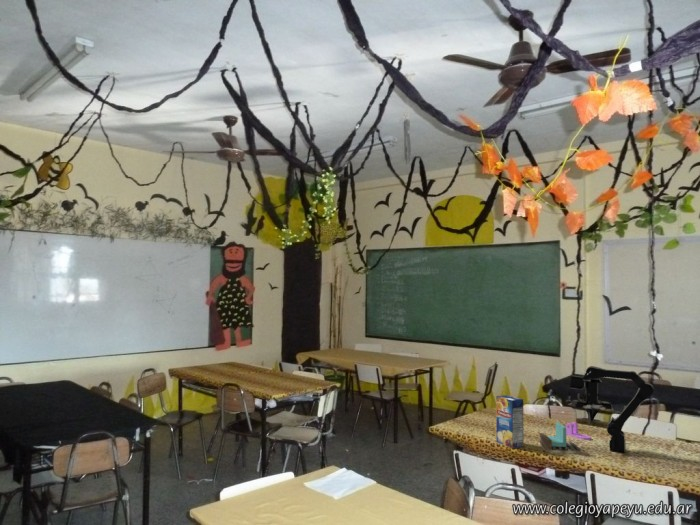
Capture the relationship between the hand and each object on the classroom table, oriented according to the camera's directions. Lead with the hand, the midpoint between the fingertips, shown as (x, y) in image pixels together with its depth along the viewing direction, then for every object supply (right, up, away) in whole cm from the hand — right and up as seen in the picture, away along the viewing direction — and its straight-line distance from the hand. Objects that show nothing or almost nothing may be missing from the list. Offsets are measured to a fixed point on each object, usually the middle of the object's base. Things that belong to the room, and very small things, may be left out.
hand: (591, 421), depth 264 cm
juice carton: (-42, -13, +2) cm, 44 cm away
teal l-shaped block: (-20, -10, -5) cm, 23 cm away
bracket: (+2, -15, +18) cm, 23 cm away
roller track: (-18, -13, -5) cm, 22 cm away
